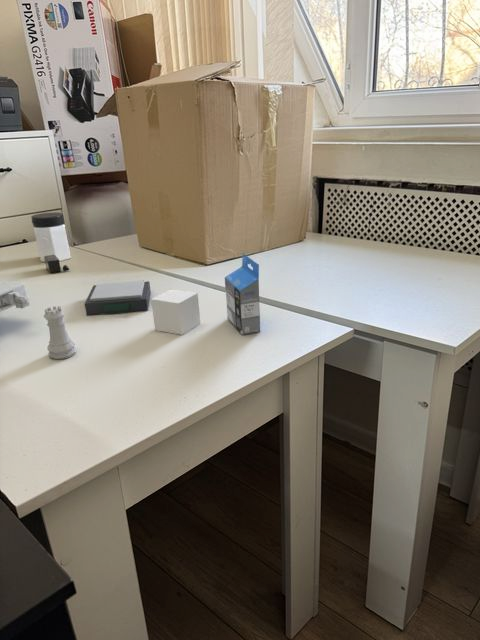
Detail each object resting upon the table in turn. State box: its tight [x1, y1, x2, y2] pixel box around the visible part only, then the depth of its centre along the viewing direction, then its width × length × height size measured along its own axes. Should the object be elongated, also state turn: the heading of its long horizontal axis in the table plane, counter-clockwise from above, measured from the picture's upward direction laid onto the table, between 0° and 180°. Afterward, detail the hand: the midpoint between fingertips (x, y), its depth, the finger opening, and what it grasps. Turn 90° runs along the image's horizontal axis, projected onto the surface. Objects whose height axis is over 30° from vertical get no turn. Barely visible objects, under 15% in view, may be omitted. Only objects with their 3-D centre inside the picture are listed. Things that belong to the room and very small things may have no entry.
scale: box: [84, 280, 152, 316], centre depth 106 cm, size 12×12×3 cm
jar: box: [31, 212, 72, 263], centre depth 140 cm, size 9×8×12 cm
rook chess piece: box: [43, 305, 77, 360], centre depth 83 cm, size 4×4×8 cm
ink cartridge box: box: [224, 252, 261, 336], centre depth 91 cm, size 9×4×12 cm, turn 21°
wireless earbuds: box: [44, 255, 70, 274], centre depth 131 cm, size 5×7×3 cm, turn 31°
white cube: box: [150, 288, 201, 336], centre depth 93 cm, size 6×6×6 cm
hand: (4, 311), depth 86 cm, fingers open, 8 cm apart
